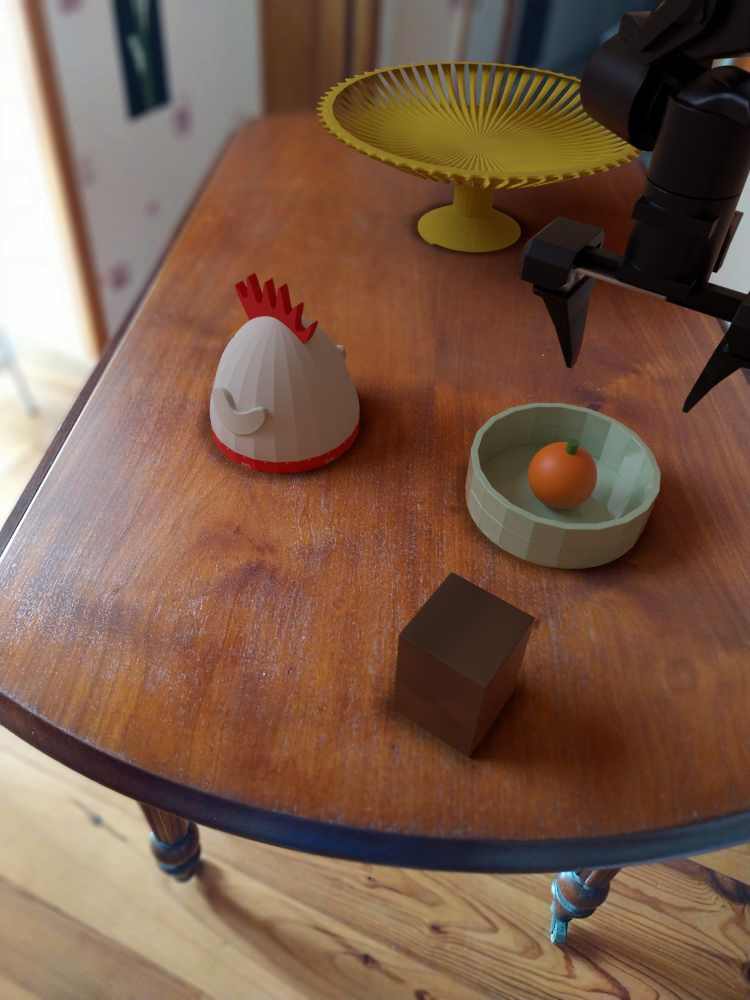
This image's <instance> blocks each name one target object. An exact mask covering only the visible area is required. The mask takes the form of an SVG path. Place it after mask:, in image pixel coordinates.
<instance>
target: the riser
mask: <svg viewBox="0 0 750 1000" xmlns="http://www.w3.org/2000/svg"><path fill="white" fill-rule="evenodd" d="M535 620H536V617H535V616H533V615H531V614H530V613H528V612H527V611H525V610H522V609H521V608H519V607H517V606H515V605H513V604H511V603H509V602H508V601H506V600H504V599H502V598H500V597H499V596H497V595H496V594H493V593H491V592H490V591H488V590H486V589H484V588H482V587H481V586H479V585H477V584H476V583H473V582H471V581H469V580H468V579H466V578H464V577H462V576H461V575H459V574H457V573H455V572H453V571H450V572H449V574H448V575H447V576H446V577H445V578H444V579H443V580H442V582H441V583H440V584H439V586H438V587H437V588H436V589H435V590H434V591H433V593H432V594H431V595H430V596H429V598H428V599H427V600H426V601H425V603H424V604H423V605H422V606H421V607H420V608H419V609H418V611H417V612H416V613H415V614H414V615H413V617H412V618H411V619H410V620H409V621H408V622H407V624H406V625H405V626H404V627H403V629H402V630H401V631H400V632H399V633H398V638H397V639H398V641H397V653H396V662H395V663H396V664H395V675H394V676H395V677H394V688H393V699H392V709H393V710H394V711H396V712H398V713H399V715H400V714H401V715H402V716H403V717H405V718H407V719H408V720H409V721H411V722H412V723H414V724H415V725H417V726H419V727H420V728H422V729H423V730H425V732H426V731H427V732H428V733H429V734H431V735H432V736H434V737H435V738H437V739H439V740H440V741H442V742H443V743H445V744H446V745H448V746H449V747H451V748H452V749H454V750H455V751H457V752H458V753H460V754H462V755H463V756H464V757H466V758H468V759H469V758H471V756H472V755H473V753H474V752H475V750H476V749H477V747H478V746H479V744H480V743H481V741H482V740H483V738H484V737H485V735H486V734H487V732H488V731H489V729H490V727H491V726H492V724H493V723H494V721H495V720H496V719H497V717H498V715H499V714H500V712H501V711H502V709H503V708H504V706H505V705H506V704H507V702H508V700H509V699H510V697H511V696H512V694H513V693H514V690H515V686H516V684H517V680H518V676H519V673H520V670H521V667H522V663H523V660H524V656H525V654H526V650H527V647H528V643H529V640H530V637H531V634H532V630H533V627H534V624H535Z"/></svg>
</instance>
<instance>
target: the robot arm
mask: <svg viewBox="0 0 750 1000" xmlns="http://www.w3.org/2000/svg"><path fill="white" fill-rule="evenodd" d="M741 58H750V0H658V2H657V3H656V5H655V6H654V7H653V9H652V10H640V11H626V12H625V11H624V12H623V13H622V14H621V17H620V22H619V27H618V31H617V33H615V34H614V35H612V36H610V37H609V38H608V39H607V40H605V41H604V42H603V43H602V45H600V46H599V48H597V50H596V51H595V53H594V54H593V56H591V58H590V59H589V62H588V63H587V66H586V68H585V69H584V70H583V72H582V74H581V78H580V80H581V82H580V87H579V93H580V105H582V106H583V111H584V112H586V113H587V115H588V116H587V117H588V118H592V119H593V120H594V122H598V123H599V124H600V126H604V127H605V128H606V129H605V130H609V131H611V134H615V135H617V136H616V137H617V138H618V137H620V138H621V139H622V141H626V142H627V143H626V144H630V145H632V146H633V147H635V148H637V149H638V150H641V151H645V152H652V154H651V157H650V160H649V164H648V167H647V171H646V174H645V178H644V182H643V186H642V187H641V192H640V195H639V196H638V199H636V201H635V202H634V205H633V209H632V212H631V216H630V218H631V219H633V221H632V224H631V228H630V233H629V235H628V238H627V242H626V246H625V250H624V253H623V255H622V254H621V253H620V254H619V253H616V252H613V251H610V250H606V249H603V245H604V242H605V237H606V236H605V231H604V229H603V228H600V227H597V226H593V225H590V224H587V223H583V222H582V221H581V222H580V221H577V220H574V219H570V218H567V217H563V216H560V215H559V216H558V217H557V218H555V219H553V220H552V221H551V222H549V223H548V224H547V225H546V226H544V227H543V228H542V229H541V230H539V231H538V232H536V234H535V235H533V236H532V237H531V238H530V239H528V240H527V241H526V242H525V244H524V246H523V248H522V251H521V253H520V258H519V263H518V269H517V276H518V277H519V279H520V281H523V282H525V283H526V282H527V283H529V284H532V294H534V295H535V296H537V297H540V299H542V301H543V303H544V305H545V308H546V310H547V312H548V315H549V317H550V320H551V322H552V324H553V326H554V329H555V333H556V336H557V340H558V343H559V347H560V349H561V353H562V356H563V357H562V358H563V361H564V363H565V367H566V368H568V369H573V368H574V367H575V365H576V364H577V363H578V362H577V361H578V358H579V355H580V352H581V349H582V347H583V346H582V345H583V341H584V340H583V339H584V335H585V328H586V324H587V317H588V311H589V306H590V300H591V296H592V293H593V290H594V287H595V284H596V281H597V280H600V281H602V282H605V283H608V284H612V285H615V286H617V287H621V288H624V289H627V290H631V291H633V292H636V293H640V294H642V295H645V296H648V297H650V298H655V299H657V300H661V301H663V302H667V303H669V304H672V305H676V306H679V307H681V308H685V309H687V310H691V311H694V312H697V313H700V314H703V315H706V316H708V317H712V318H715V319H719V320H721V321H724V322H727V323H730V325H729V327H728V328H727V331H726V333H725V334H724V335H723V337H722V338H721V340H720V341H719V343H718V344H717V346H716V347H715V348H714V350H713V352H712V353H711V355H710V357H709V359H708V361H707V362H706V364H705V366H704V367H703V369H702V371H701V373H700V374H699V376H698V377H697V379H696V381H695V383H694V384H693V386H692V388H691V389H690V391H689V392H688V395H687V396H686V398H685V401H684V402H683V403H684V404H683V407H682V409H681V411H682V413H684V414H688V413H690V411H692V409H693V408H694V407H695V406H696V405H697V404H698V403H699V402H701V400H702V399H703V398H705V396H707V394H708V393H709V392H711V390H713V389H714V388H715V387H716V386H717V385H719V384H720V383H722V381H724V380H725V379H727V378H728V377H730V376H732V374H734V373H735V372H737V371H738V370H740V369H747V370H749V371H750V290H749V291H748V292H747V293H744V292H742V291H739V290H735V289H732V288H728V287H725V286H722V285H719V284H716V283H713V282H709V281H710V279H711V276H712V273H713V274H717V273H718V272H719V271H720V269H721V268H722V267H723V265H724V262H725V259H726V257H727V254H728V251H729V250H730V246H731V244H732V242H733V239H734V237H735V235H736V233H737V230H738V228H739V227H740V226H739V225H740V224H741V221H742V219H743V217H744V214H745V213H744V211H740V210H737V207H738V205H739V202H740V199H741V196H742V193H743V191H744V188H745V185H746V183H747V180H748V177H749V175H750V71H749V70H746V69H744V68H743V67H740V66H738V65H732V64H726V65H725V64H724V65H719V66H715V67H713V64H714V61H715V60H728V59H741Z"/></svg>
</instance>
